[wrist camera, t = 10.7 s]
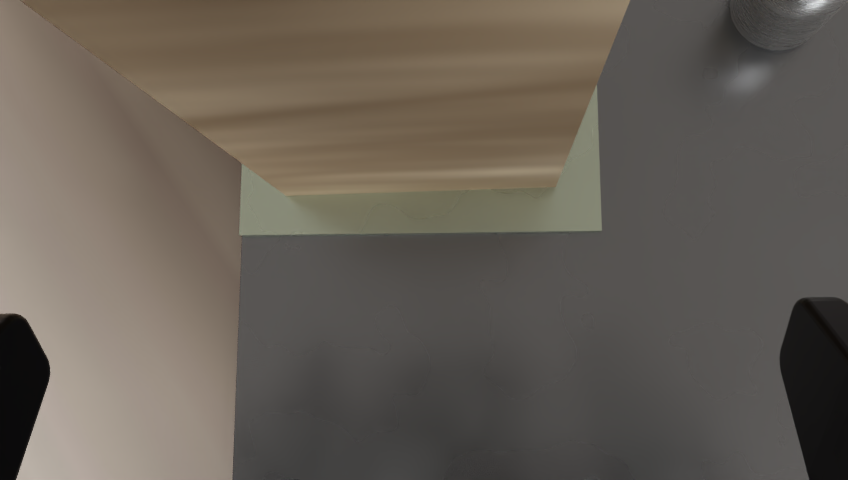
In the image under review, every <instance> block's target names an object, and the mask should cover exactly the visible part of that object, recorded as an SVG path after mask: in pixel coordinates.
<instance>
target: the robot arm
mask: <svg viewBox="0 0 848 480" xmlns="http://www.w3.org/2000/svg"><path fill="white" fill-rule="evenodd" d="M779 360H780V370H781V375H782V379H783V382H784V386H785V390H786V394H787V398H788V401H789V405H790V409H791V413H792V417H793V420H794V424H795V428H796V432H797V436H798V439H799V443H800V447H801V451H802V455H803V458H804V462H805V466H806V470H807V474H808V477H809V480H848V303H847V302H846V301H844V300H842V299H840V298H837V297H805V298H801V299H799V300H798V301H797V302H796V303H795V304H794V306H793V309H792V312H791V315H790V319H789V322H788V326H787V329H786V332H785V336H784V339H783V343H782V346H781V350H780V357H779ZM49 377H50V365H49V361H48V359H47V357H46V355H45V353H44V351H43V349H42V347H41V345H40V343H39V342H38V340H37V338H36V336H35V334H34V332H33V330H32V329H31V327H30V325H29V323H28V322H27V320H26V319H25V318H24V317H22V316H21V315H18V314H0V480H16V478H17V475H18V472H19V469H20V466H21V463H22V460H23V457H24V454H25V451H26V448H27V445H28V442H29V439H30V436H31V433H32V430H33V427H34V424H35V421H36V418H37V415H38V412H39V409H40V406H41V403H42V400H43V397H44V394H45V391H46V388H47V385H48V382H49Z"/></svg>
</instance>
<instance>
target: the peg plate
mask: <svg viewBox="0 0 848 480" xmlns="http://www.w3.org/2000/svg"><path fill="white" fill-rule="evenodd" d="M239 235H240V236H242V250H241V276H240V302H239V328H238V353H237V379H236V405H235V431H234V457H233V480H809V477H808V474H807V470H806V466H805V462H804V458H803V455H802V451H801V447H800V443H799V439H798V436H797V432H796V428H795V424H794V420H793V417H792V413H791V409H790V405H789V401H788V398H787V394H786V390H785V386H784V382H783V379H782V375H781V370H780V360H779V357H780V350H781V346H782V343H783V339H784V336H785V332H786V329H787V326H788V322H789V319H790V315H791V312H792V309H793V306H794V304H795V303H796V302H797V301H798V300H799V299H801V298H805V297H837V298H840V299H842V300H844V301H846V302H847V303H848V0H630V2H629V5H628V7H627V10H626V12H625V15H624V17H623V20H622V22H621V25H620V27H619V30H618V32H617V35H616V37H615V40H614V42H613V45H612V47H611V50H610V52H609V55H608V57H607V60H606V62H605V65H604V67H603V70H602V72H601V75H600V77H599V80H598V82H597V85H596V87H595V90H594V92H593V95H592V97H591V100H590V102H589V105H588V107H587V110H586V112H585V115H584V117H583V120H582V122H581V125H580V127H579V130H578V132H577V135H576V137H575V140H574V142H573V145H572V148H571V150H570V153H569V155H568V158H567V160H566V163H565V165H564V168H563V170H562V173H561V175H560V178H559V180H558V183H557V185H556V187H541V188H510V189H479V190H448V191H417V192H386V193H355V194H324V195H293V196H285V195H284V194H283V193H281V192H280V191H279V190H277V189H276V188H275V187H273V186H272V185H271V184H269V183H268V182H266V181H265V180H264V179H262V178H261V177H260V176H258V175H257V174H256V173H254V172H253V171H251V170H250V169H249V168H247V167H246V166H245V165H243V164H242V172H241V197H240V223H239Z"/></svg>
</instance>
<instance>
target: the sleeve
mask: <svg viewBox="0 0 848 480" xmlns="http://www.w3.org/2000/svg"><path fill="white" fill-rule="evenodd" d="M20 1H22V2H23V3H24V4H26V5H27V6H28V7H30V8H31V9H32V10H34V11H35V12H37V13H38V14H39V15H41V16H42V17H43V18H45V19H46V20H47V21H49V22H50V23H52V24H53V25H54V26H56V27H57V28H58V29H60V30H61V31H62V32H64V33H65V34H66V35H68V36H69V37H71V38H72V39H73V40H75V41H76V42H77V43H79V44H80V45H81V46H83V47H84V48H86V49H87V50H88V51H90V52H91V53H92V54H94V55H95V56H96V57H98V58H99V59H100V60H102V61H103V62H105V63H106V64H107V65H109V66H110V67H111V68H113V69H114V70H115V71H117V72H118V73H120V74H121V75H122V76H124V77H125V78H126V79H128V80H129V81H130V82H132V83H133V84H134V85H136V86H137V87H139V88H140V89H141V90H143V91H144V92H145V93H147V94H148V95H149V96H151V97H152V98H154V99H155V100H156V101H158V102H159V103H160V104H162V105H163V106H164V107H166V108H167V109H168V110H170V111H171V112H173V113H174V114H175V115H177V116H178V117H179V118H181V119H182V120H183V121H185V122H186V123H188V124H189V125H190V126H192V127H193V128H194V129H196V130H197V131H198V132H200V133H201V134H202V135H204V136H205V137H207V138H208V139H209V140H211V141H212V142H213V143H215V144H216V145H217V146H219V147H220V148H222V149H223V150H224V151H226V152H227V153H228V154H230V155H231V156H232V157H234V158H235V159H237V160H238V161H239V162H241V163H242V164H243V165H245V166H246V167H247V168H249V169H250V170H251V171H253V172H254V173H256V174H257V175H258V176H260V177H261V178H262V179H264V180H265V181H266V182H268V183H269V184H271V185H272V186H273V187H275V188H276V189H277V190H279V191H280V192H281V193H283V194H284V195H285V196H293V195H324V194H355V193H386V192H417V191H448V190H479V189H510V188H541V187H556V185H557V183H558V180H559V178H560V175H561V173H562V170H563V168H564V165H565V163H566V160H567V158H568V155H569V153H570V150H571V148H572V145H573V142H574V140H575V137H576V135H577V132H578V130H579V127H580V125H581V122H582V120H583V117H584V115H585V112H586V110H587V107H588V105H589V102H590V100H591V97H592V95H593V92H594V90H595V87H596V85H597V82H598V80H599V77H600V75H601V72H602V70H603V67H604V65H605V62H606V60H607V57H608V55H609V52H610V50H611V47H612V45H613V42H614V40H615V37H616V35H617V32H618V30H619V27H620V25H621V22H622V20H623V17H624V15H625V12H626V10H627V7H628V5H629V2H630V0H20Z"/></svg>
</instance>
